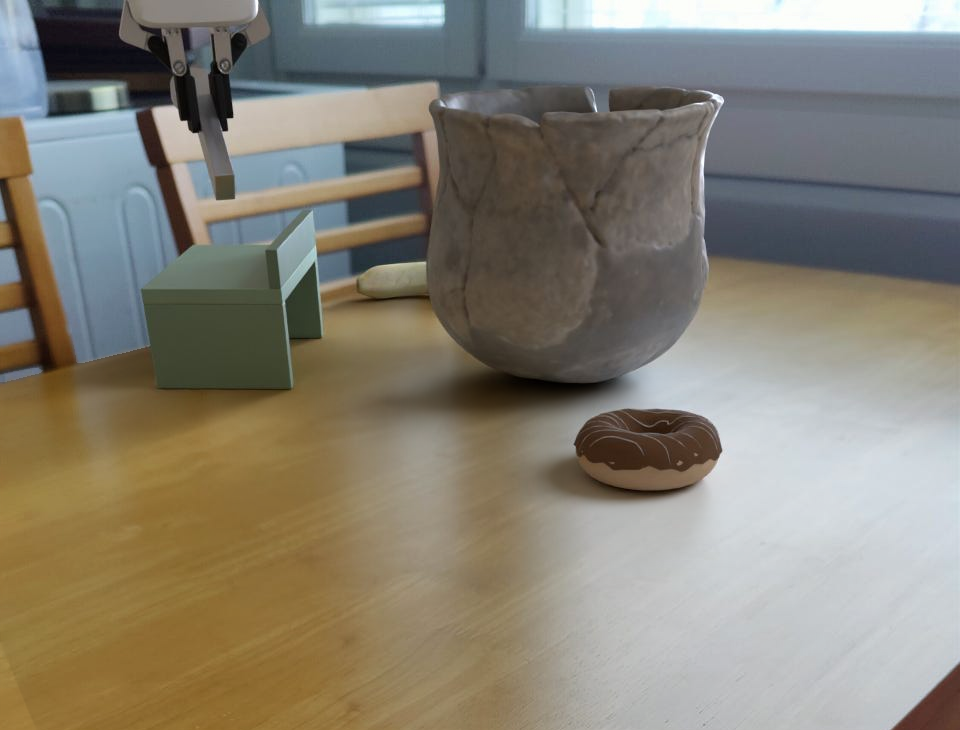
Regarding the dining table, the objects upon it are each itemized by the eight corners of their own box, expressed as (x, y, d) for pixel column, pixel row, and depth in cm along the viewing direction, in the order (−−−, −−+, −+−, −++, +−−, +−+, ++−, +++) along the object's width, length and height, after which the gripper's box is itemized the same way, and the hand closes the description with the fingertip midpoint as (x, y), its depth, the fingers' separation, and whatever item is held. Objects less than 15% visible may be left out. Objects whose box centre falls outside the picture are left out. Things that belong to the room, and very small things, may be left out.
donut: (622, 510, 83) (626, 453, 81) (547, 463, 91) (548, 409, 88) (748, 483, 87) (755, 427, 85) (666, 440, 95) (670, 388, 92)
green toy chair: (157, 388, 107) (133, 249, 100) (205, 334, 121) (187, 209, 114) (291, 389, 106) (276, 249, 100) (323, 334, 121) (313, 209, 114)
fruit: (374, 288, 136) (372, 256, 134) (505, 293, 133) (505, 260, 131) (355, 304, 131) (352, 270, 129) (490, 310, 128) (490, 276, 126)
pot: (596, 325, 122) (607, 74, 109) (757, 381, 106) (793, 96, 93) (380, 366, 112) (363, 94, 99) (523, 435, 96) (526, 122, 83)
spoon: (252, 198, 100) (252, 173, 98) (198, 202, 99) (197, 176, 97) (218, 79, 104) (217, 52, 102) (166, 81, 103) (164, 54, 101)
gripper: (266, -154, 94) (292, 120, 105) (59, -155, 90) (108, 130, 102) (285, -160, 89) (310, 130, 100) (64, -161, 85) (116, 141, 96)
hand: (208, 128), depth 101 cm, fingers closed on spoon, 1 cm apart
